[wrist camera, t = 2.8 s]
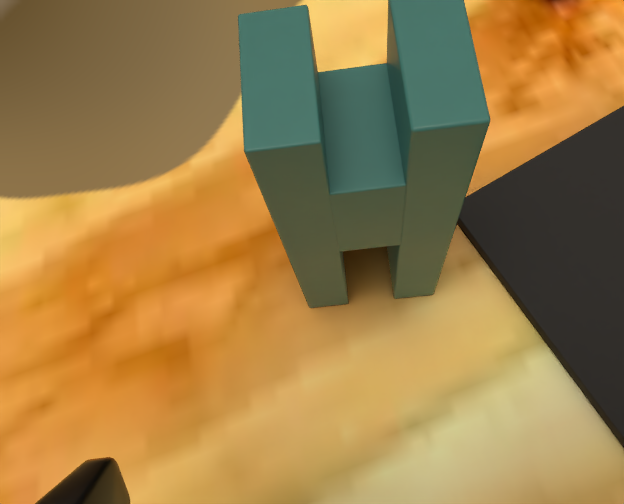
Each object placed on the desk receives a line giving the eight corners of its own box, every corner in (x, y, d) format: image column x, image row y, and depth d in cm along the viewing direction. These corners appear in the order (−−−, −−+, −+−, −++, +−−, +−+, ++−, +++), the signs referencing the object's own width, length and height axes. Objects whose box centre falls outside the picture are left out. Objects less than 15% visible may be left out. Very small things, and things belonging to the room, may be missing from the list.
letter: (421, 212, 24) (460, -19, 13) (434, 295, 23) (492, 121, 12) (302, 226, 25) (237, 13, 13) (309, 308, 23) (243, 152, 12)
